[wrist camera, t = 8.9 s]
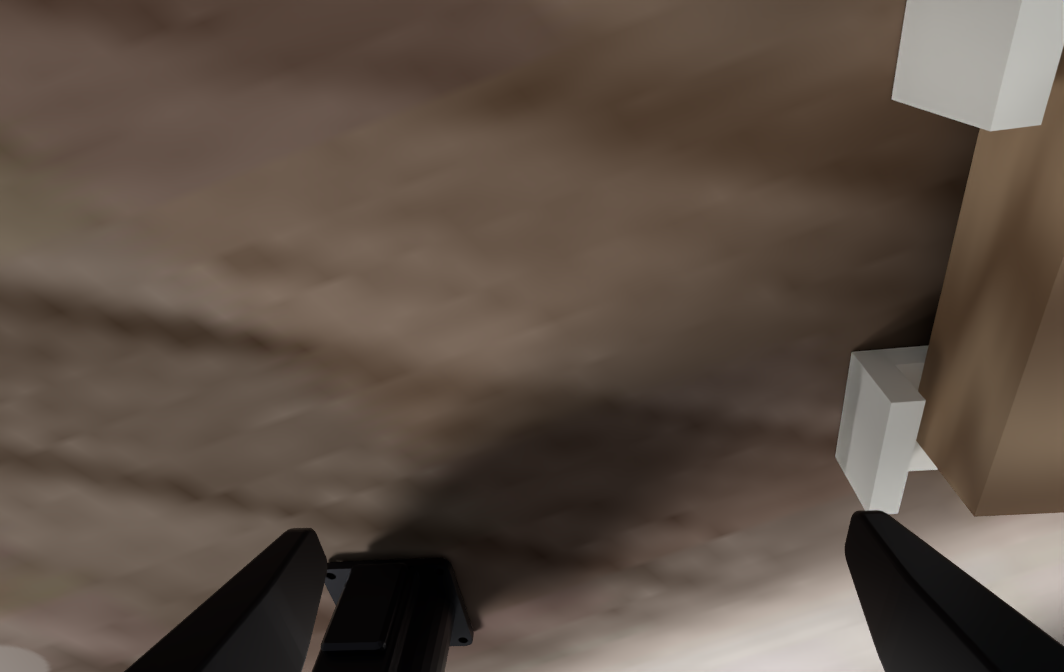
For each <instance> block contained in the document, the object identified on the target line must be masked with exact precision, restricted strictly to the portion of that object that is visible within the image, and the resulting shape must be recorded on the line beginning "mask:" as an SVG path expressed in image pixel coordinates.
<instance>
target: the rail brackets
mask: <svg viewBox="0 0 1064 672" xmlns="http://www.w3.org/2000/svg"><path fill="white" fill-rule="evenodd" d="M1063 46H1064V0H907V3H906V10H905V16H904V22H903V29H902V35H901V41H900V48H899V54H898V61H897V67H896V73H895V80H894V86H893V92H892V100H895V101H898V102H901V103H904V104H907V105H910V106H913V107H916V108H919V109H922V110H925V111H929V112H932V113H935V114H938V115H941V116H944V117H947V118H950V119H953V120H956V121H959V122H962V123H966V124H969V125H972V126H975V127H978V128H981V129H984V130H987V131H997V130H1005V129H1013V128H1021V127H1029V126H1037V125H1041V123H1042V120H1043V116H1044V113H1045V109H1046V106H1047V102H1048V99H1049V95H1050V92H1051V88H1052V85H1053V81H1054V78H1055V74H1056V71H1057V67H1058V64H1059V60H1060V57H1061V53H1062V50H1063ZM928 346H929V345H928ZM928 346H916V347H904V348H892V349H879V350H867V351H855V352H852V353H851V359H850V365H849V372H848V378H847V385H846V391H845V397H844V404H843V410H842V416H841V423H840V429H839V435H838V442H837V448H836V454H835V458H836V459H837V461H838V463H839V465H840V466H841V468H842V470H843V472H844V474H845V475H846V477H847V479H848V481H849V482H850V484H851V486H852V488H853V489H854V491H855V493H856V495H857V497H858V498H859V500H860V502H861V504H862V505H863V507H864V509H865V511H867V510H880V511H883V512H885V513H887V514H898V512H899V508H900V504H901V500H902V495H903V491H904V487H905V483H906V479H907V475H908V471H921V470H938V468H937V467H936V466H935V465H934V463H933V462H932V461H931V459H930V458H929V457H928V455H927V454H926V453H925V452H924V450H923V449H922V448H921V446H920V445H919V444H918V442H917V441H916V439H917V435H918V430H919V426H920V422H921V418H922V414H923V410H924V406H925V402H926V400H925V399H924V398H923V397H922V395H921V394H920V393H919V392H918V389H919V384H920V380H921V376H922V372H923V367H924V363H925V359H926V355H927V350H928Z"/></svg>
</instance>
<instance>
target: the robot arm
mask: <svg viewBox="0 0 1064 672" xmlns="http://www.w3.org/2000/svg"><path fill="white" fill-rule="evenodd" d="M845 557H846V561H847V564H848V567H849V570H850V573H851V576H852V579H853V582H854V585H855V588H856V591H857V594H858V597H859V600H860V603H861V606H862V609H863V612H864V615H865V618H866V621H867V624H868V627H869V630H870V633H871V636H872V639H873V642H874V645H875V648H876V650H877V653H878V656H879V659H880V661H881V663H882V666H883V668H884V670H885V672H1064V646H1063V645H1062V644H1060V643H1059V642H1058V641H1056V640H1055V639H1054V638H1052V637H1051V636H1050V635H1048V634H1047V633H1046V632H1044V631H1043V630H1042V629H1040V628H1039V627H1038V626H1036V625H1035V624H1034V623H1032V622H1031V621H1030V620H1028V619H1027V618H1026V617H1024V616H1023V615H1022V614H1020V613H1019V612H1018V611H1016V610H1015V609H1014V608H1012V607H1011V606H1010V605H1008V604H1007V603H1006V602H1004V601H1003V600H1002V599H1000V598H999V597H998V596H996V595H995V594H994V593H992V592H991V591H990V590H988V589H987V588H986V587H984V586H983V585H982V584H980V583H979V582H978V581H976V580H975V579H974V578H972V577H971V576H970V575H968V574H967V573H966V572H964V571H963V570H962V569H960V568H959V567H958V566H956V565H955V564H954V563H952V562H951V561H950V560H948V559H947V558H946V557H944V556H943V555H942V554H940V553H939V552H938V551H936V550H935V549H934V548H932V547H931V546H930V545H928V544H927V543H926V542H924V541H923V540H922V539H920V538H919V537H918V536H916V535H915V534H914V533H912V532H911V531H910V530H908V529H907V528H906V527H904V526H903V525H902V524H900V523H899V522H898V521H896V520H895V519H894V518H892V517H891V516H890V515H888V514H887V513H885V512H883V511H880V510H867V511H856V512H854V514H853V515H852V517H851V521H850V525H849V530H848V534H847V538H846V543H845ZM324 583H325V585H326V587H327V589H328V591H329V593H330V595H331V597H332V599H333V601H334V603H335V605H336V607H335V610H334V612H333V615H332V618H331V620H330V623H329V625H328V628H327V630H326V633H325V635H324V638H323V640H322V643H321V649H320V652H319V655H318V657H317V660H316V662H315V665H314V667H313V670H312V672H445V666H446V661H447V656H448V651H449V646H467V645H470V644H471V643H472V641H473V635H474V633H473V630H472V626H471V623H470V620H469V617H468V614H467V611H466V608H465V605H464V602H463V599H462V596H461V593H460V590H459V587H458V584H457V580H456V577H455V574H454V571H453V568H452V565H451V563H450V562H449V561H448V560H446V559H444V558H425V559H402V560H378V561H355V562H332V563H327V559H326V556H325V554H324V551H323V549H322V546H321V544H320V542H319V539H318V537H317V534H316V532H315V531H314V530H313V529H312V528H293V529H289V530H287V531H286V532H284V533H283V534H282V535H281V536H280V537H279V538H277V539H276V540H275V541H274V542H273V543H272V544H270V545H269V546H268V547H267V548H266V549H265V550H264V551H262V552H261V553H260V554H259V555H258V556H257V557H256V558H254V559H253V560H252V561H251V562H250V563H249V564H247V565H246V566H245V567H244V568H243V569H242V570H241V571H239V572H238V573H237V574H236V575H235V576H234V577H232V578H231V579H230V580H229V581H228V582H227V583H226V584H224V585H223V586H222V587H221V588H220V589H219V590H218V591H216V592H215V593H214V594H213V595H212V596H211V597H209V598H208V599H207V600H206V601H205V602H204V603H203V604H201V605H200V606H199V607H198V608H197V609H196V610H194V611H193V612H192V613H191V614H190V615H189V616H188V617H186V618H185V619H184V620H183V621H182V622H181V623H180V624H178V625H177V626H176V627H175V628H174V629H173V630H171V631H170V632H169V633H168V634H167V635H166V636H165V637H163V638H162V639H161V640H160V641H159V642H158V643H156V644H155V645H154V646H153V647H152V648H151V649H150V650H148V651H147V652H146V653H145V654H144V655H143V656H142V657H140V658H139V659H138V660H137V661H136V662H135V663H133V664H132V665H131V666H130V667H129V668H128V669H127V670H125V671H124V672H301V671H302V668H303V665H304V662H305V659H306V655H307V651H308V648H309V644H310V640H311V636H312V631H313V627H314V623H315V619H316V615H317V611H318V607H319V603H320V599H321V595H322V590H323V586H324Z"/></svg>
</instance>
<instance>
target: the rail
mask: <svg viewBox="0 0 1064 672" xmlns="http://www.w3.org/2000/svg"><path fill="white" fill-rule="evenodd" d="M918 392H919V393H920V394H921V395H922V397H923V398H924V399H925V400H926V402H925V406H924V410H923V414H922V418H921V422H920V426H919V430H918V435H917V439H916V441H917V442H918V444H919V445H920V446H921V448H922V449H923V450H924V452H925V453H926V454H927V455H928V457H929V458H930V459H931V461H932V462H933V463H934V465H935V466H936V467H937V468H938V470H939V471H940V472H941V474H942V475H943V476H944V478H945V479H946V480H947V482H948V483H949V484H950V485H951V487H952V488H953V489H954V491H955V492H956V493H957V495H958V496H959V497H960V498H961V500H962V501H963V502H964V504H965V505H966V506H967V508H968V509H969V510H970V511H971V513H972V514H973V515H974V516H995V515H1017V514H1038V513H1060V512H1064V46H1063V50H1062V53H1061V57H1060V60H1059V64H1058V67H1057V71H1056V74H1055V78H1054V81H1053V85H1052V88H1051V92H1050V95H1049V99H1048V102H1047V106H1046V109H1045V113H1044V116H1043V120H1042V123H1041V125H1037V126H1029V127H1021V128H1013V129H1005V130H997V131H987V130H984V129H981V128H980V130H979V134H978V138H977V143H976V147H975V151H974V155H973V160H972V164H971V168H970V172H969V177H968V181H967V185H966V189H965V194H964V198H963V202H962V206H961V211H960V215H959V219H958V223H957V227H956V232H955V236H954V240H953V244H952V249H951V253H950V257H949V261H948V266H947V270H946V274H945V278H944V283H943V287H942V291H941V295H940V300H939V304H938V308H937V312H936V317H935V321H934V325H933V329H932V333H931V338H930V342H929V346H928V350H927V355H926V359H925V363H924V367H923V372H922V376H921V380H920V384H919V389H918Z"/></svg>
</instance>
